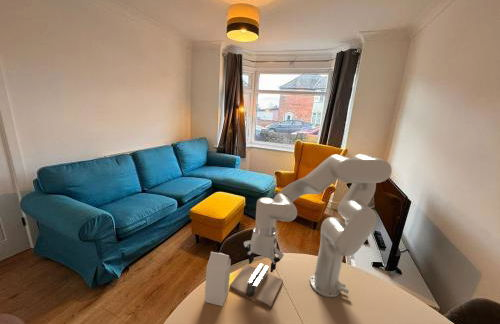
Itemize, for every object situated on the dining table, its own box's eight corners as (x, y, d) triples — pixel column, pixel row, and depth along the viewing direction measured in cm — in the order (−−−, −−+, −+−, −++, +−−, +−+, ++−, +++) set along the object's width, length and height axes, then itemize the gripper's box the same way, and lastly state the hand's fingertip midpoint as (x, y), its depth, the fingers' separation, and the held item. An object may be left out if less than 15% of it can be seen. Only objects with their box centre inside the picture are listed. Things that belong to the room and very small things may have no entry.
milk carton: (222, 306, 77) (226, 261, 73) (204, 302, 78) (207, 257, 74) (228, 291, 84) (231, 249, 80) (211, 287, 85) (214, 246, 81)
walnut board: (282, 282, 91) (283, 279, 91) (270, 309, 78) (270, 305, 77) (246, 266, 99) (246, 264, 98) (229, 288, 85) (229, 285, 85)
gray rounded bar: (252, 298, 80) (253, 290, 79) (243, 294, 81) (244, 285, 81) (267, 274, 93) (268, 266, 92) (259, 270, 95) (260, 263, 94)
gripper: (288, 230, 83) (284, 267, 86) (249, 219, 90) (247, 254, 94) (282, 239, 76) (278, 279, 80) (241, 226, 84) (239, 263, 87)
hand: (261, 265), depth 87 cm, fingers open, 9 cm apart
